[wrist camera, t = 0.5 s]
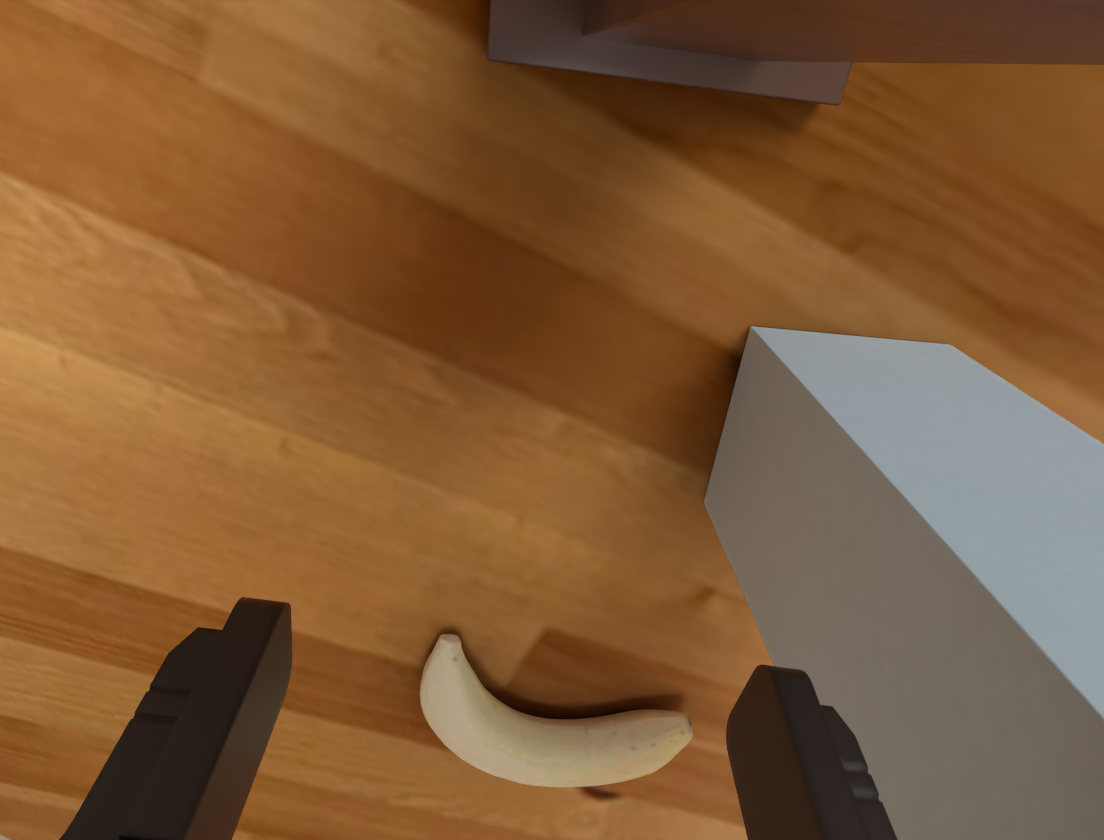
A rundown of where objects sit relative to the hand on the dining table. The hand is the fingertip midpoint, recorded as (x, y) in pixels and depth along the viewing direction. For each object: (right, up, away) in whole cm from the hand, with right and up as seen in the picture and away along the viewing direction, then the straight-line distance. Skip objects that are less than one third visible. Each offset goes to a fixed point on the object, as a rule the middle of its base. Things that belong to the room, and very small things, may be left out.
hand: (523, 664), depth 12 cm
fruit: (+1, -11, +27) cm, 29 cm away
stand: (+5, +19, +10) cm, 22 cm away
